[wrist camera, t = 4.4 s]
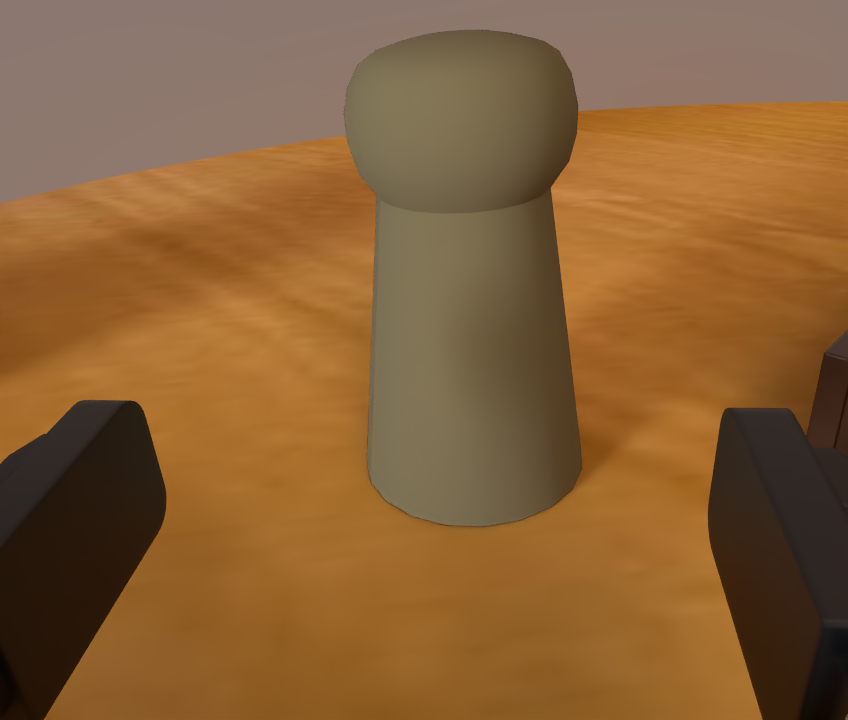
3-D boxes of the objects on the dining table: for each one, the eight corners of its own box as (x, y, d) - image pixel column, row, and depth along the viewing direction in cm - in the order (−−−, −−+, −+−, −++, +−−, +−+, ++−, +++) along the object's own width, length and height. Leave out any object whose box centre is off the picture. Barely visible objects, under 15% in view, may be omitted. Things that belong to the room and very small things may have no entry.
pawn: (561, 392, 24) (571, 13, 19) (605, 518, 19) (636, 40, 14) (371, 405, 24) (328, 30, 19) (361, 534, 19) (299, 64, 14)
